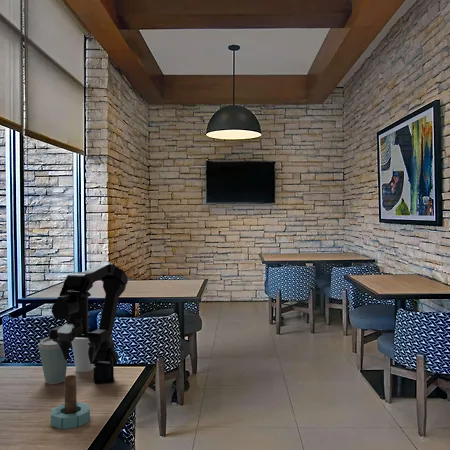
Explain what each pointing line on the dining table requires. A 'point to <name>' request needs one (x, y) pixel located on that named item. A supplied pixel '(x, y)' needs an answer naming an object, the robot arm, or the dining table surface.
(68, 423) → the bead
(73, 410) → the brown post
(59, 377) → the disposable coffee cup
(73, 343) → the foam cup
